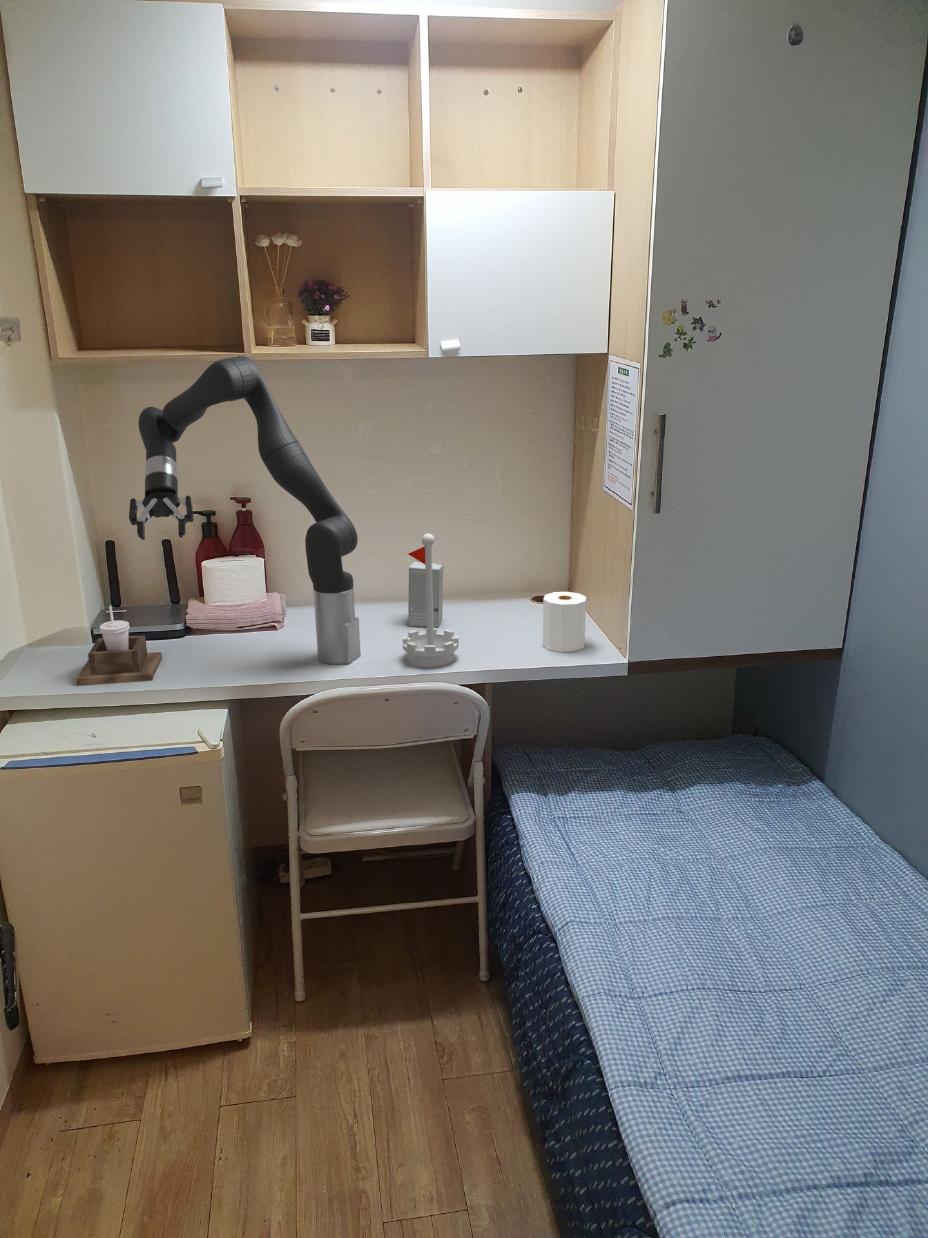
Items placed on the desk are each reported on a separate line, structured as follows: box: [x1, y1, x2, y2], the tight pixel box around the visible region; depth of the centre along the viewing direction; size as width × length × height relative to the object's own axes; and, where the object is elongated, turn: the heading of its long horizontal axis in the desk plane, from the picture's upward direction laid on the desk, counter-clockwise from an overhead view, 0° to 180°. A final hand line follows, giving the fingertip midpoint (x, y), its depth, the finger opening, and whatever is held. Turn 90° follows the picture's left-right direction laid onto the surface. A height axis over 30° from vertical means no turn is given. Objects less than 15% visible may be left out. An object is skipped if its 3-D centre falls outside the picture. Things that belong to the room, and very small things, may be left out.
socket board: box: [75, 635, 163, 686], centre depth 206 cm, size 16×14×6 cm
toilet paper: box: [542, 591, 587, 653], centre depth 218 cm, size 10×10×12 cm
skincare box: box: [407, 561, 444, 628], centre depth 234 cm, size 8×7×16 cm
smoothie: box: [99, 605, 131, 651], centre depth 205 cm, size 6×6×14 cm
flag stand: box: [402, 533, 460, 668], centre depth 208 cm, size 13×13×30 cm
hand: (161, 537), depth 210 cm, fingers open, 8 cm apart
